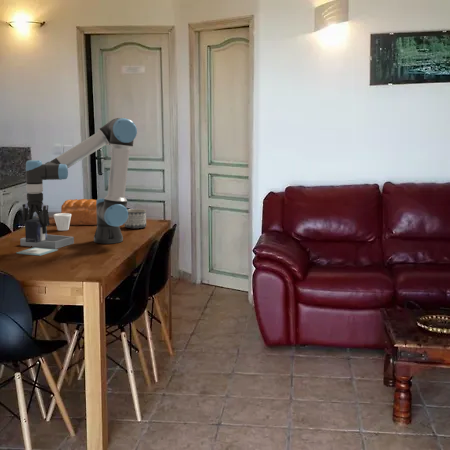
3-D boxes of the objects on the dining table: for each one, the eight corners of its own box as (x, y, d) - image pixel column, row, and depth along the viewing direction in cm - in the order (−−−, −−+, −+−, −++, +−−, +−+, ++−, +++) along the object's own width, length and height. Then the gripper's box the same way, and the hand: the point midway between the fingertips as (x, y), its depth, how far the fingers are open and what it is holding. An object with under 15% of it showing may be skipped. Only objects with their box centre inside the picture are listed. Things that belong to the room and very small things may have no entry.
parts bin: (73, 243, 342) (73, 236, 342) (55, 248, 328) (55, 242, 327) (40, 240, 350) (39, 233, 350) (20, 245, 336) (20, 238, 336)
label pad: (58, 250, 325) (58, 249, 325) (39, 255, 312) (39, 254, 312) (34, 247, 330) (34, 247, 330) (16, 253, 317) (16, 252, 317)
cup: (55, 232, 374) (54, 216, 373) (53, 229, 383) (52, 213, 382) (73, 231, 378) (72, 215, 376) (70, 228, 387) (69, 212, 386)
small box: (37, 243, 314) (36, 221, 313) (25, 242, 316) (23, 220, 314) (48, 239, 325) (47, 218, 323) (35, 238, 326) (34, 217, 324)
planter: (142, 230, 383) (142, 212, 381) (121, 229, 385) (121, 211, 383) (148, 226, 395) (148, 209, 393) (128, 225, 397) (128, 208, 395)
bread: (64, 222, 411) (63, 197, 408) (106, 222, 411) (105, 197, 408) (58, 225, 397) (57, 200, 394) (102, 225, 397) (101, 200, 394)
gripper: (56, 192, 316) (58, 239, 320) (23, 190, 323) (25, 236, 327) (46, 194, 309) (48, 242, 313) (12, 192, 317) (14, 239, 320)
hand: (36, 239), depth 320 cm, fingers closed on small box, 7 cm apart
